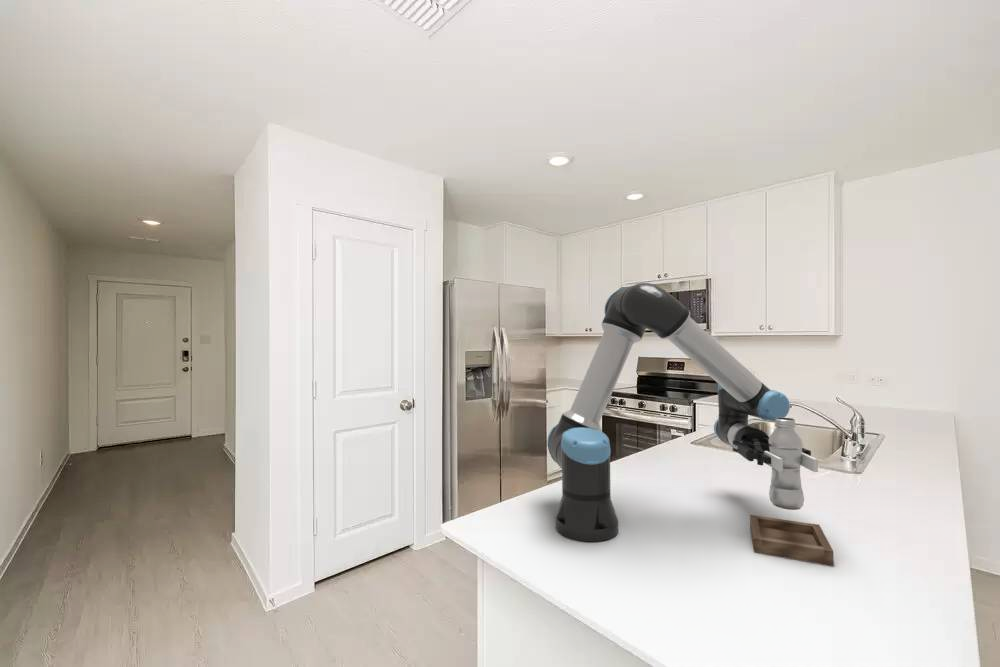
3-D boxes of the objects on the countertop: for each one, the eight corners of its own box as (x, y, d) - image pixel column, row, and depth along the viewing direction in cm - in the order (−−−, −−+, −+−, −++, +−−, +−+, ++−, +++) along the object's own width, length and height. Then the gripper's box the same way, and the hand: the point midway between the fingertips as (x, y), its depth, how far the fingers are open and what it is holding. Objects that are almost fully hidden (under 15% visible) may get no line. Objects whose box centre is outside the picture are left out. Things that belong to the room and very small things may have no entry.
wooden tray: (754, 552, 96) (753, 538, 96) (749, 527, 109) (749, 514, 109) (833, 566, 90) (833, 551, 90) (819, 537, 103) (819, 524, 103)
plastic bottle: (811, 513, 97) (810, 421, 97) (779, 513, 97) (778, 421, 97) (792, 502, 103) (791, 415, 103) (762, 502, 103) (761, 416, 103)
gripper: (787, 454, 117) (847, 483, 94) (711, 453, 119) (751, 482, 96) (787, 426, 117) (846, 448, 94) (710, 425, 119) (750, 447, 96)
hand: (798, 465), depth 95 cm, fingers closed on plastic bottle, 6 cm apart
